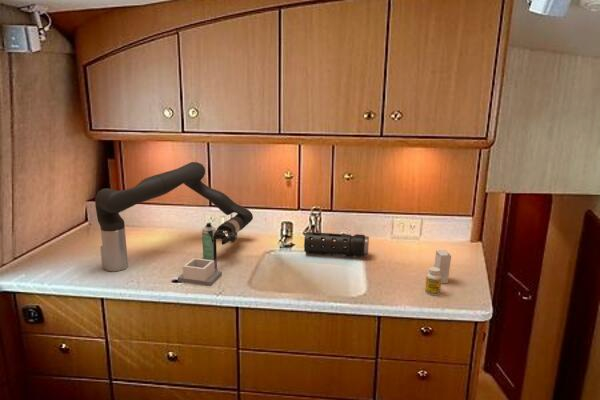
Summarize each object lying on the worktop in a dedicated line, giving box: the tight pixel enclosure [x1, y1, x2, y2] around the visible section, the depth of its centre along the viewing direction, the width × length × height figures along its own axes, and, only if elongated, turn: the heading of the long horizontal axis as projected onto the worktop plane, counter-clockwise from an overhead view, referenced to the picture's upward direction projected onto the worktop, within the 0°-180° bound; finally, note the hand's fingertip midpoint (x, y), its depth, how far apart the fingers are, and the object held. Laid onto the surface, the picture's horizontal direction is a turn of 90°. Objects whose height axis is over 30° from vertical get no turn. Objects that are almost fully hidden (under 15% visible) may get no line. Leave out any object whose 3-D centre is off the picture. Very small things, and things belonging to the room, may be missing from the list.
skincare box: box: [433, 249, 452, 284], centre depth 194 cm, size 6×4×12 cm
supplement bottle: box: [424, 266, 442, 296], centre depth 184 cm, size 5×5×10 cm
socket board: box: [177, 257, 223, 287], centre depth 194 cm, size 14×10×6 cm
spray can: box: [201, 222, 218, 271], centre depth 201 cm, size 6×6×20 cm
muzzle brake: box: [303, 231, 370, 258], centre depth 219 cm, size 10×28×10 cm, turn 81°
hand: (212, 241), depth 204 cm, fingers open, 8 cm apart
